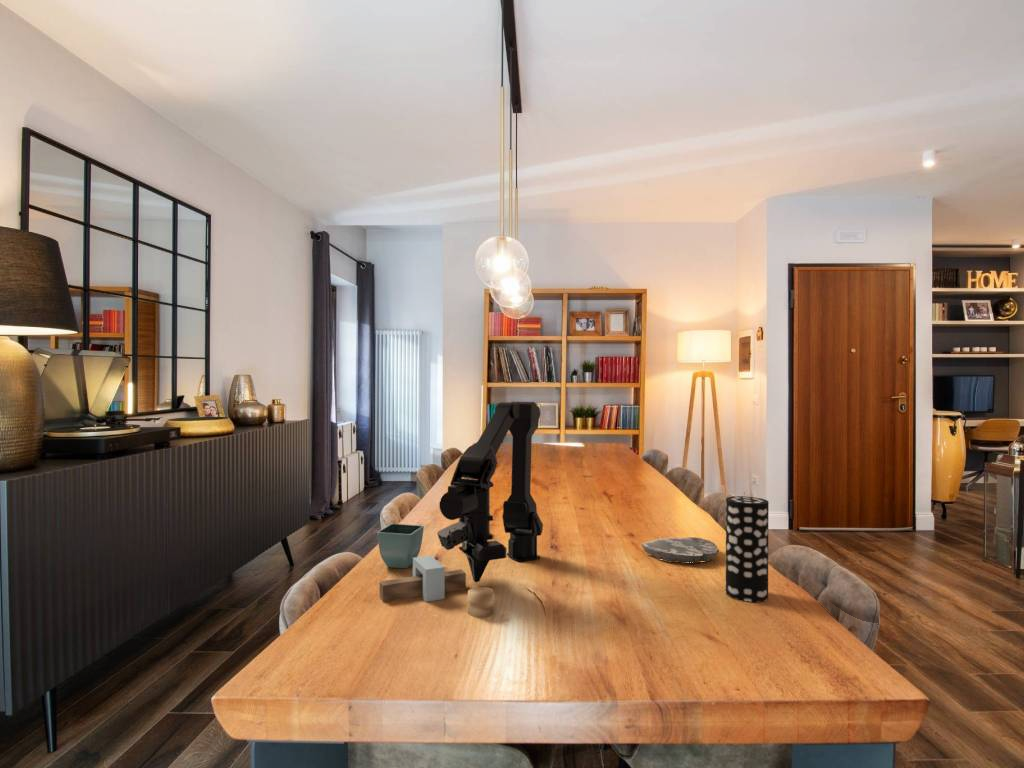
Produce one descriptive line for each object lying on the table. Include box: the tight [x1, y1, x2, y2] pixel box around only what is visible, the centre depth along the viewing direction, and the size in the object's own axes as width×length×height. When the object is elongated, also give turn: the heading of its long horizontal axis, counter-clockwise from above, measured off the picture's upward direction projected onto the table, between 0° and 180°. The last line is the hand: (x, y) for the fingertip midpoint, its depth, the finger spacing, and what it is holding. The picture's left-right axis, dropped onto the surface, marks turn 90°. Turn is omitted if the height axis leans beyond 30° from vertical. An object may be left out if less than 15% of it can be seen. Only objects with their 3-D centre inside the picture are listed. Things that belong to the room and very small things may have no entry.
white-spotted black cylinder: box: [725, 495, 769, 603], centre depth 122 cm, size 8×8×20 cm
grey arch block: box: [412, 555, 446, 602], centre depth 122 cm, size 4×9×6 cm, turn 27°
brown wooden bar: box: [379, 569, 467, 603], centre depth 122 cm, size 18×3×4 cm, turn 117°
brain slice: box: [641, 536, 720, 564], centre depth 149 cm, size 20×17×3 cm
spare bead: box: [467, 586, 495, 618], centre depth 112 cm, size 5×5×4 cm
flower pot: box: [376, 523, 425, 569], centre depth 141 cm, size 9×9×9 cm
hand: (476, 581), depth 127 cm, fingers closed
